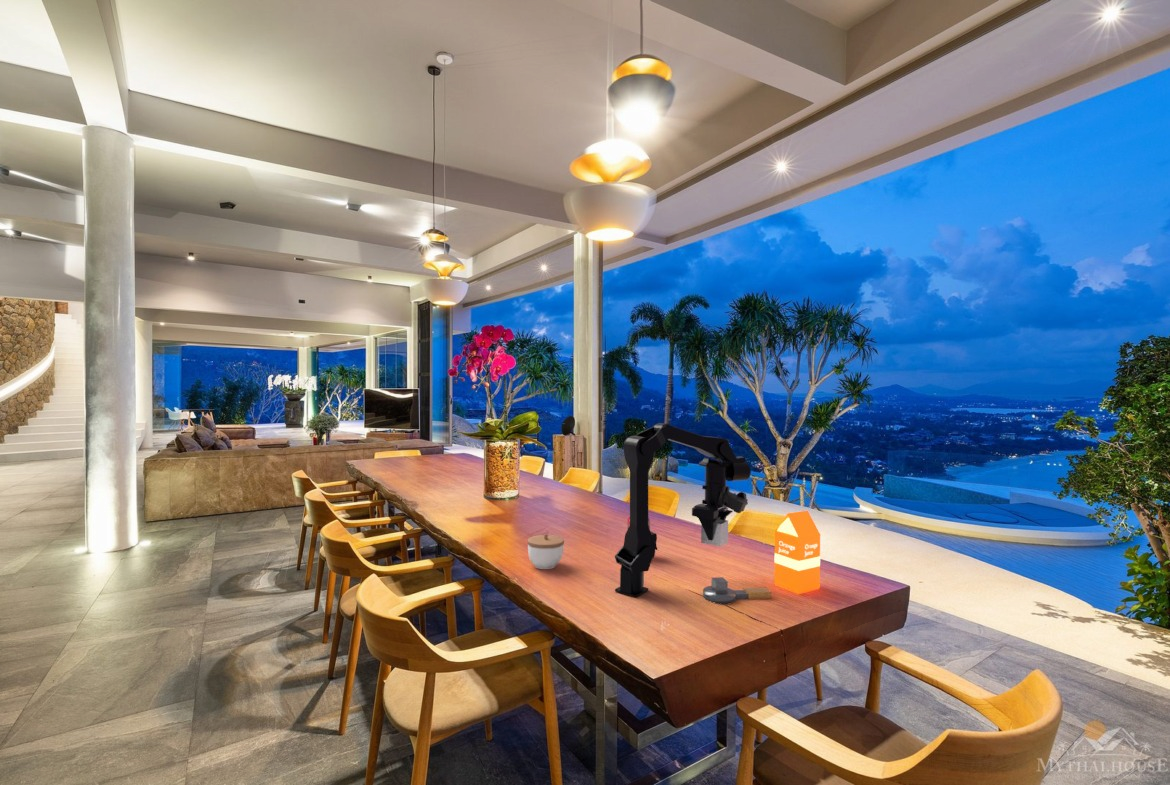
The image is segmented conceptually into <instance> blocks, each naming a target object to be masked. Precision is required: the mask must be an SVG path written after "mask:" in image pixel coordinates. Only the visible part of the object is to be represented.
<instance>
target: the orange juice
mask: <svg viewBox="0 0 1170 785" xmlns="http://www.w3.org/2000/svg"><path fill="white" fill-rule="evenodd" d="M820 567H821V533H820V531H819V529H818V528H817V526H816V523H815V521H814V520H813V518H812V516H811V514H810V512H809V510H802V511H795V512H788V513H786V514H785V516H784V517H783V519H782V520H781V522H780V523H779V524H778V526H777V527H776V529H775V531H774V576H773V577H774V585H775V586H776V587H780V588H781V589H783V590H786V591H789V592H791V593H794V594H797V595H800V594H805V593H808V592H813V591H816V590H819V589H820V586H821V585H820V584H821V583H820V582H821V581H820V580H821V576H820V575H821V574H820V573H821V568H820Z"/></svg>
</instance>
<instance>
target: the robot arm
mask: <svg viewBox="0 0 1170 785" xmlns="http://www.w3.org/2000/svg"><path fill="white" fill-rule="evenodd" d="M666 441H670V442H674V443H676V444H681V445H684V446H686V447H690V448H692V449H693V448H694V449H695V450H696V451H697V452H698V453H700V454H702V455H704V456H705V457H704V458H703V459H702V460H701V461H699V463H698V466H701V467H704V468H705V469H704V470H705V471H704V472H705V474H704V479H705V480H704V485H702V488H701V489H702V490H704V499H702V500H701V503H699V504H696V505H694V506H693V507H692V508H691V516H692V517H696V518H698V521H699V522H700V524H702V526H703V529H704V531H705V533H706V535H707V538H708V540H711V541H712V540H713V536H714V529H715V523H716V521H717V520H718V519H721V520H726V519H727V517H728V516H730V515H731V514H732V513H733V512H735V513H736V514H740V513H741V512H744V510H745V508H746V506H747V505H749V504H748V501H749V500H748V498H747V494H746V493H745V492H744V491H740V492H738V493H737V494H736V493H735V492H731V491H730V486H729V485H727V482H738V481H747V480H749V478H750V477H751V473H752V472H751V468H750V464H748V462H747V460H746V459H747V458H746V457H745V456H736V454H735V452H734V450H733V449H732V447H731V444H730V441H729V440H728V439H727V438H725V437H717V436H716V437H715V436H705V435H702V434H701V435H700V434H697V433H695V432H692V431H688V430H685V429H682V428H679V427H677V426H673V425H671V424H670V423H664V422H663V423H662V422H661V423H660V422H658V423H656V424H654V425H652V427H649V428H647V429H645V430H643V431H641V432H639V433H637V434H636V435H630V436H628V437H627V438H626V439H625V440H624V441H623V444H622V445H623V446H622V447H623V448H622V450H623V453H624V460H625V462H626V465H627V467H628V470H629V514H630V526H629V528H628V527H627V530H626V532H625V534H624V541H623V545H622V547H620V549H619V550H618V551H617V552H616V554H615V555H614V558H615V562H616V564H618V565H620V574H619V576H620V577H619V586H618V587H616V588H615V589H614V592H617V593H620V594H624V595H627V596H628V597H629V596H630V597H633V598H638V597H639V596H641V595H643V594H645V593H647V592H648V591H649V587H645V586H644V585H645V584H644V577H645V572H648V571H649V570H650V567H651V563H652V560H653V558H655V556H656V551H658V547H657V539H658V536H657V535H658V534H657V533H655V532H653V531H651V528H650V529H649V525H648V515H649V472H650V469H651V466H652V465H653V463H654V461H655V460H654V459H655V453H656V452H657V451H658V450H660V449H662V447H663V445H664V444H665V443H666ZM711 458H712V459H711ZM729 509H731V510H729Z"/></svg>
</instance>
